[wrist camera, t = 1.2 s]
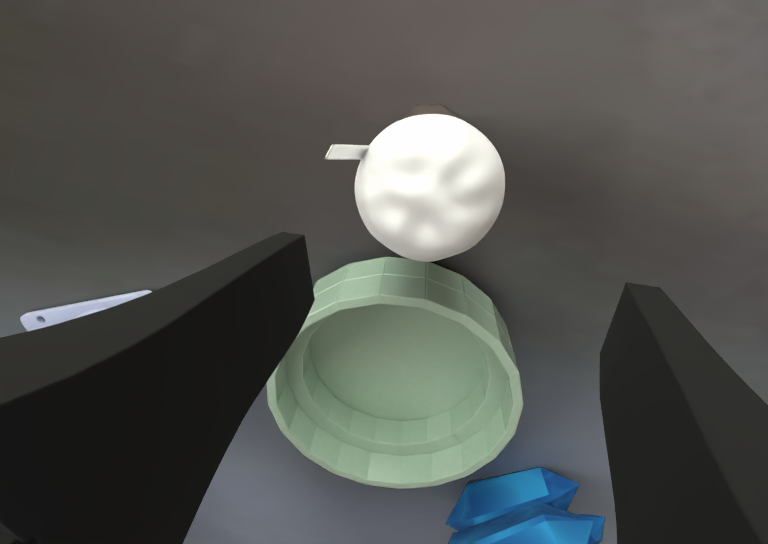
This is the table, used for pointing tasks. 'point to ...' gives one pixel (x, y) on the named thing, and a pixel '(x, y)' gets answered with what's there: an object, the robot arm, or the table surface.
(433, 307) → the bowl
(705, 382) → the robot arm
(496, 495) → the crystal
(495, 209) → the milkshake
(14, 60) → the table surface
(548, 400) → the table surface
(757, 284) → the table surface
